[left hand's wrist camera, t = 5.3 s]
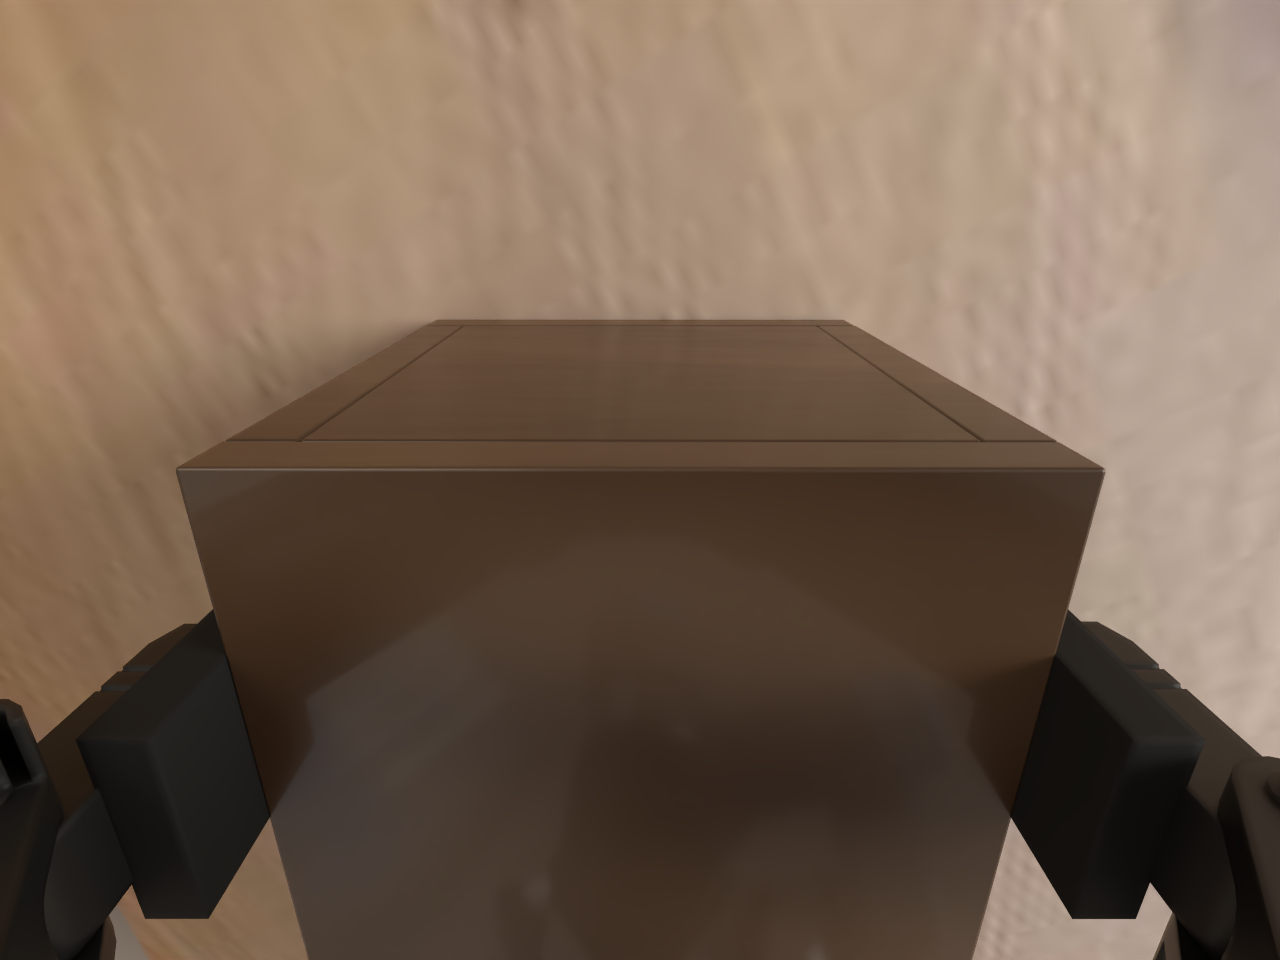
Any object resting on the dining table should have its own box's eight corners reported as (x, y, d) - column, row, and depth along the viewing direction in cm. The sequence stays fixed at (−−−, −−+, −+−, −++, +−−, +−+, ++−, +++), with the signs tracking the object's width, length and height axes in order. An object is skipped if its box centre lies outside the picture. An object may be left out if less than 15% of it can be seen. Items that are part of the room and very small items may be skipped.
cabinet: (780, 904, 25) (868, 1342, 15) (499, 904, 25) (411, 1342, 15) (845, 319, 17) (1109, 468, 8) (435, 319, 17) (172, 468, 8)
